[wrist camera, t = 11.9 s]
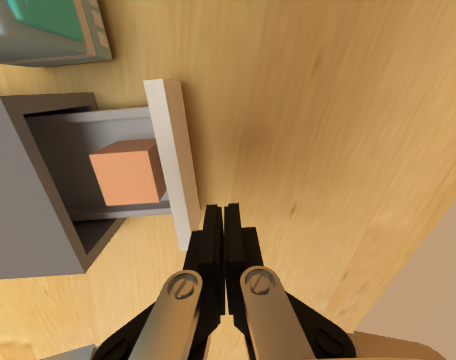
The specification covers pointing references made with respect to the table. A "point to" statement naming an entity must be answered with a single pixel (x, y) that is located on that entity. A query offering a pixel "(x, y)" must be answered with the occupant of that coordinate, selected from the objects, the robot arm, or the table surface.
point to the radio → (52, 33)
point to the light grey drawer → (120, 131)
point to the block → (129, 172)
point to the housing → (41, 198)
